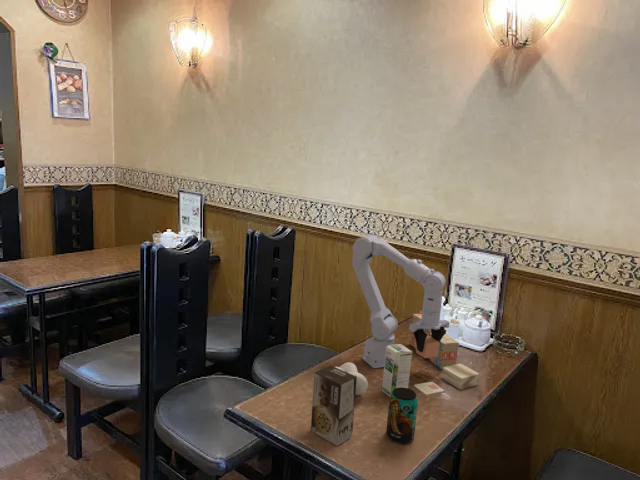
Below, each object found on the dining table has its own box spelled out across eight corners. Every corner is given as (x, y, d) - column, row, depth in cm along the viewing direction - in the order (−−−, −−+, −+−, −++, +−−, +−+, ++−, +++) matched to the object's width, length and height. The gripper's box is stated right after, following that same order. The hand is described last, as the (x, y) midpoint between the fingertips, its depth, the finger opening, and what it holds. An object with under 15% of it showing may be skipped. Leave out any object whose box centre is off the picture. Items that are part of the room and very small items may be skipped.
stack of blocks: (456, 368, 162) (460, 334, 160) (440, 369, 160) (444, 335, 158) (424, 343, 182) (427, 312, 180) (409, 344, 180) (413, 313, 178)
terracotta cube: (424, 358, 151) (426, 343, 150) (415, 351, 156) (417, 337, 155) (437, 356, 153) (439, 341, 152) (427, 350, 158) (429, 335, 157)
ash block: (460, 390, 147) (461, 378, 146) (441, 379, 153) (442, 367, 153) (478, 385, 151) (479, 373, 150) (459, 374, 157) (460, 363, 157)
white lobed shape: (318, 387, 142) (320, 359, 140) (355, 384, 146) (357, 356, 144) (330, 407, 131) (333, 377, 130) (370, 403, 135) (373, 374, 134)
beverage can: (381, 437, 119) (385, 393, 117) (393, 425, 125) (397, 383, 122) (407, 448, 115) (412, 403, 113) (418, 435, 121) (423, 392, 119)
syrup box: (380, 390, 143) (385, 345, 140) (396, 387, 145) (401, 343, 143) (391, 400, 138) (396, 353, 135) (408, 396, 140) (413, 350, 138)
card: (425, 395, 141) (425, 393, 141) (413, 386, 147) (414, 384, 147) (444, 391, 144) (444, 390, 144) (432, 382, 150) (432, 381, 150)
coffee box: (353, 436, 119) (358, 376, 116) (336, 447, 114) (341, 385, 111) (325, 421, 125) (330, 363, 122) (309, 430, 120) (313, 371, 117)
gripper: (420, 316, 145) (415, 357, 148) (457, 312, 151) (452, 352, 154) (407, 308, 151) (403, 348, 154) (443, 305, 157) (438, 343, 160)
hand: (426, 349), depth 154 cm, fingers closed on terracotta cube, 5 cm apart
